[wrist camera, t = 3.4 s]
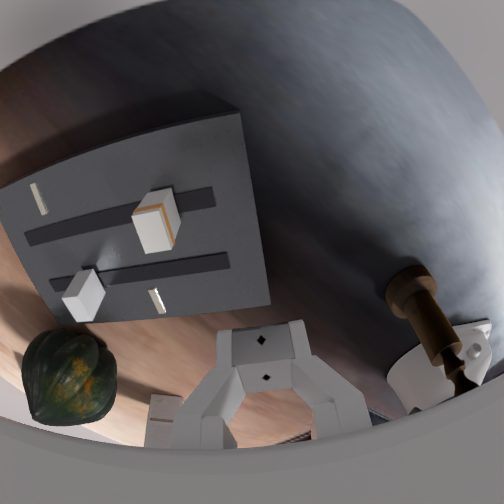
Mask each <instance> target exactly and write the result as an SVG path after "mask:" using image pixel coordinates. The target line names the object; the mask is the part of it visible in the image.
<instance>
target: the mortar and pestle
mask: <svg viewBox="0 0 504 504" xmlns="http://www.w3.org/2000/svg"><path fill="white" fill-rule="evenodd" d="M436 290H437V285H436V282H435V280H434V278H433V277H432V276H431V274H430V273H429V272H428V270H427V269H426V268H424V267H422V266H418V265H416V266H411V267H408V268H406V269H404V270H402V271H401V272H399V273H398V274H397V275H395V276H394V277H393V279H392V280H391V281H390V283H389V284H388V286H387V289H386V293H385V298H386V301H387V303H388V305H389V307H390V309H391V311H392V312H393V314H394V315H395V316H397V317H399V318H408V320H409V322H410V323H411V325H412V327H413V329H414V331H415V332H416V334H417V336H418V338H419V340H420V342H421V344H422V346H423V348H424V350H425V352H426V354H427V356H428V358H429V360H430V362H431V364H432V366H434V367H438V366H442V365H444V371H445V375H446V378H447V380H451V381H452V382H453V384H454V386H455V391H454V398H455V397H457V396H460V395H462V394H464V393H466V392H468V391H470V390H473V389H475V388H477V387H479V385H478V384H477V383H475V382H473V381H471V380H470V379H468V378H467V377H466V376H465V373H464V370H465V369H466V366H465V364H464V363H463V362H462V361H461V360H460V359H459V358H458V357H457V355H458V354H459V353H460V351H461V350H462V347H463V344H462V342H461V341H460V339H459V337H458V336H457V334H456V332H455V331H454V329H453V327H452V326H451V324H450V323H449V321H448V319H447V318H446V316H445V315H444V313H443V312H442V310H441V308H440V307H439V305H438V304H437V302H436V301H435V299H434V297H435V294H436Z"/></svg>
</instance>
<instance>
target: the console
mask: <svg viewBox="0 0 504 504" xmlns="http://www.w3.org/2000/svg"><path fill="white" fill-rule="evenodd" d="M168 188H171V189H172V193H173V196H174V200H175V203H176V207H177V210H178V214H179V217H180V221H181V224H180V227H179V229H178V232H177V235H176V238H175V244H174V246H173V247H172V250H166V251H160V252H154V253H148V254H145V251H144V249H143V246H142V244H141V241H140V239H139V236H138V233H137V231H136V228H135V225H134V222H133V220H132V217H131V216H132V215H133V211H134V210H135V209H136V208H137V207H138V206H139V204H140V203H141V201H142V200H143V198H144V197H145V196H146V194H147V193H150V192H154V191H159V190H163V189H168ZM0 220H1V223H2V225H3V227H4V229H5V231H6V233H7V236H8V238H9V240H10V242H11V244H12V246H13V248H14V250H15V252H16V254H17V256H18V257H19V259H20V261H21V263H22V265H23V267H24V269H25V270H26V272H27V274H28V276H29V277H30V279H31V281H32V283H33V284H34V286H35V288H36V289H37V291H38V292H39V294H40V296H41V297H42V299H43V300H44V302H45V304H46V305H47V307H48V308H49V310H50V311H51V313H52V314H53V316H54V317H55V319H56V320H57V322H58V323H59V324H60V325H68V324H88V323H105V322H119V321H132V320H145V319H156V318H166V317H177V316H186V315H195V314H204V313H213V312H221V311H229V310H237V309H244V308H252V307H259V306H266V305H271V301H270V293H269V285H268V279H267V272H266V266H265V260H264V253H263V247H262V241H261V235H260V228H259V222H258V216H257V210H256V204H255V197H254V191H253V185H252V179H251V173H250V167H249V161H248V155H247V149H246V143H245V137H244V132H243V126H242V120H241V114H240V109H238V110H232V111H226V112H221V113H215V114H210V115H205V116H200V117H196V118H191V119H187V120H182V121H178V122H174V123H170V124H166V125H162V126H158V127H154V128H150V129H147V130H143V131H140V132H136V133H133V134H129V135H126V136H123V137H120V138H117V139H113V140H110V141H107V142H104V143H101V144H98V145H96V146H93V147H90V148H87V149H84V150H82V151H79V152H76V153H74V154H71V155H69V156H66V157H64V158H61V159H59V160H56V161H54V162H51V163H49V164H47V165H44V166H42V167H40V168H37V169H35V170H33V171H31V172H29V173H27V174H24V175H22V176H20V177H18V178H16V179H14V180H12V181H10V182H8V183H6V184H5V185H3V186H2V187H0ZM89 269H94V271H95V273H96V275H97V277H98V279H99V281H100V283H101V285H102V287H103V289H104V290H105V292H106V293H105V295H104V297H103V299H102V302H101V304H100V306H99V308H98V310H97V313H96V315H95V317H94V319H93V321H86V322H76V320H75V319H74V317H73V316H72V314H71V313H70V311H69V309H68V308H67V306H66V305H65V303H64V302H63V300H62V296H63V295H64V293H65V291H66V290H67V288H68V286H69V285H70V283H71V281H72V280H73V278H74V277H75V275H76V273H77V272H78V271H83V270H89Z"/></svg>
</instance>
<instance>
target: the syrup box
mask: <svg viewBox="0 0 504 504" xmlns="http://www.w3.org/2000/svg"><path fill="white" fill-rule="evenodd" d="M183 404H184V400H183V397H177V396H169V395H160V394H152V395H151V400H150V406H149V412H148V419H147V426H146V433H145V442H144V447H147V448H161V449H171V439H172V429H173V420H174V415H175V413H176V412H177V411H178V410H179V408H180V407H181V406H182V405H183Z"/></svg>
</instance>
